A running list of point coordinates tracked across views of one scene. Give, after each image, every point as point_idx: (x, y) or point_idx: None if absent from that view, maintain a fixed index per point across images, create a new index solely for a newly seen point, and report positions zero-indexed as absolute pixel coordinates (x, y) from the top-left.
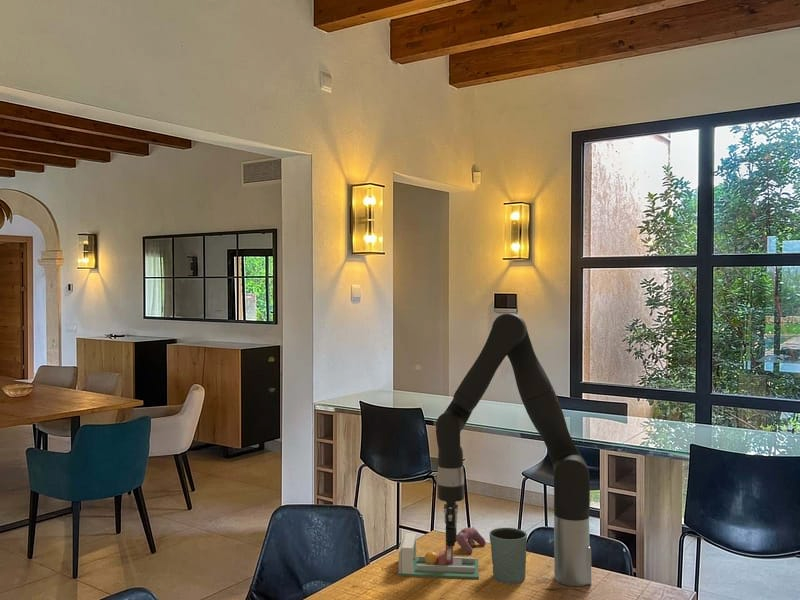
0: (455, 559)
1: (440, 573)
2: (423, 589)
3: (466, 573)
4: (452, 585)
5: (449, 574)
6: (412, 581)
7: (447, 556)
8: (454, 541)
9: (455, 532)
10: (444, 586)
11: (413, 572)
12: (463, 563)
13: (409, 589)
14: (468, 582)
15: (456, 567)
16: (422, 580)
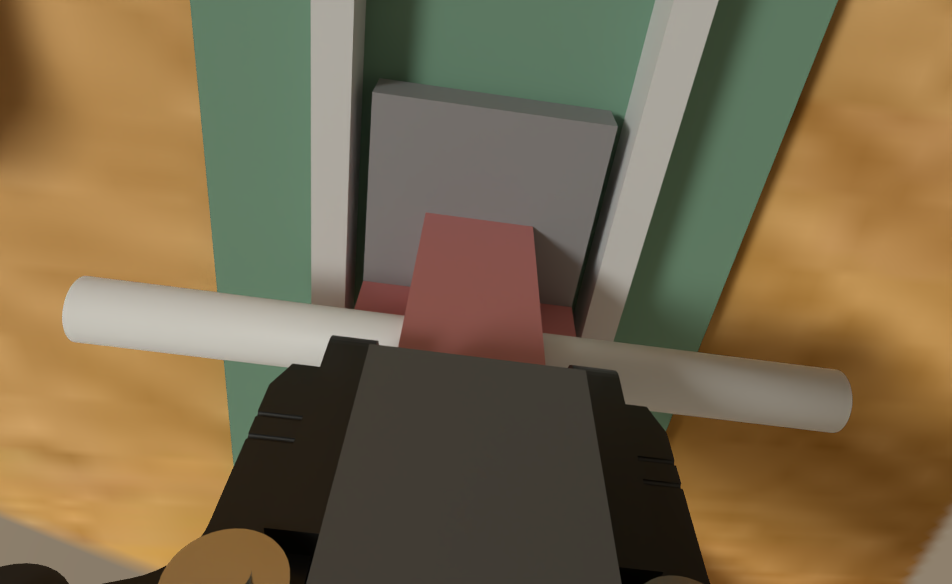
0: (391, 180)
1: (657, 332)
2: (906, 457)
3: (716, 59)
4: (923, 238)
5: (702, 255)
6: (723, 508)
7: (832, 428)
8: (629, 424)
9: (608, 549)
10: (915, 309)
11: None
12: (374, 53)
13: (866, 531)
14: (914, 55)
15: (654, 197)
16: (722, 451)
